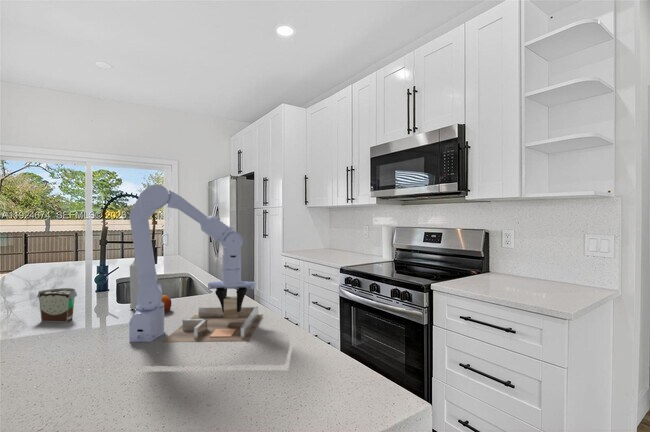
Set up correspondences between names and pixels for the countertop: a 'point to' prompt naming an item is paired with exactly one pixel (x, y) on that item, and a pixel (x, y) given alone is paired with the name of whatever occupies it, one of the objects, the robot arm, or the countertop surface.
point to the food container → (57, 304)
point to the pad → (223, 333)
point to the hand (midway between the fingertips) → (231, 311)
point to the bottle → (134, 284)
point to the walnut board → (212, 325)
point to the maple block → (230, 307)
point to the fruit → (166, 303)
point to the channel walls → (201, 324)
